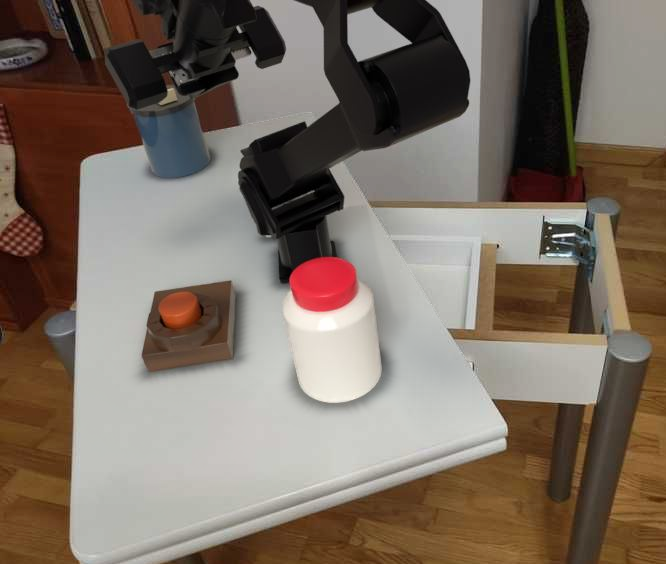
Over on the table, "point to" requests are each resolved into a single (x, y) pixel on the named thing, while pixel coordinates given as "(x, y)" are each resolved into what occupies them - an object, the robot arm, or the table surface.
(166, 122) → the travel cup
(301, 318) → the pill bottle
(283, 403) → the table surface
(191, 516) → the table surface
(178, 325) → the button
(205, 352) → the button block
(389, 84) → the robot arm
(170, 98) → the cream wedge block
